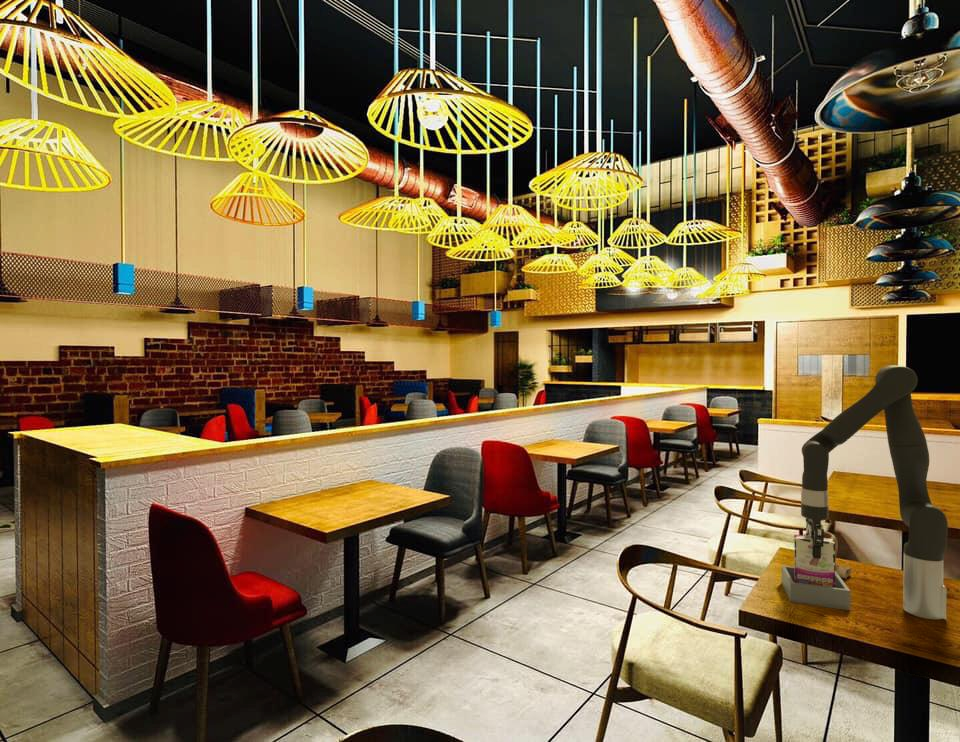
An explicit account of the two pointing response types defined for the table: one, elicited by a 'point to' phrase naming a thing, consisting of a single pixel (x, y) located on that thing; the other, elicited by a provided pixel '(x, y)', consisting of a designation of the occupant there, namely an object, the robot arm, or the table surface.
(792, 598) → the tote
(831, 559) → the candy bar box
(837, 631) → the table surface
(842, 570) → the stone cup
